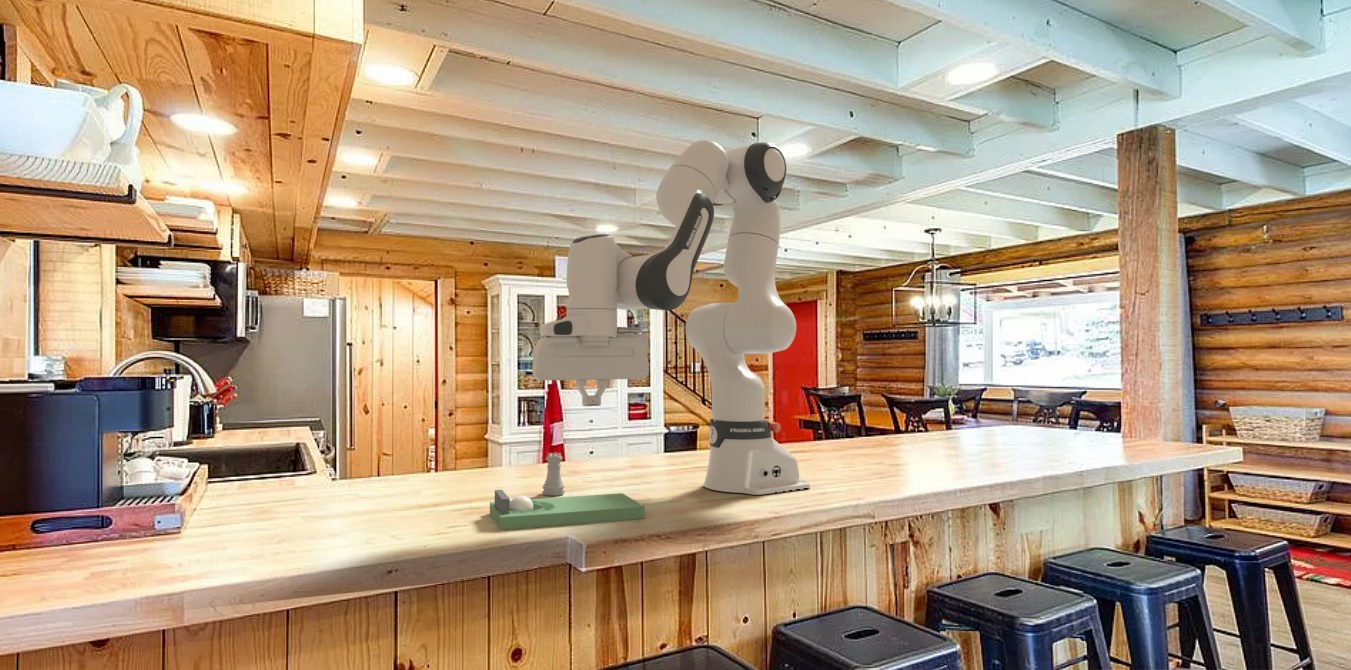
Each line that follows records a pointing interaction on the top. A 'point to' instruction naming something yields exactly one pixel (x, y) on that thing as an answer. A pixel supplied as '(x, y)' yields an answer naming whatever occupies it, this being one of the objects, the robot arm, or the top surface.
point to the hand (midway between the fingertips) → (591, 406)
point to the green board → (565, 510)
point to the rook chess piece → (553, 476)
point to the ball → (521, 503)
